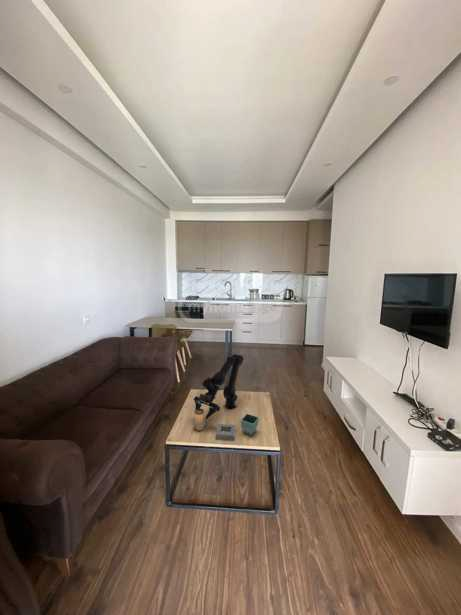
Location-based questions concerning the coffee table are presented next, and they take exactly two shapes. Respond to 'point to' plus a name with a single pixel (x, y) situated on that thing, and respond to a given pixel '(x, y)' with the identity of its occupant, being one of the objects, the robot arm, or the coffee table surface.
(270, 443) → the coffee table surface
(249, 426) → the flower pot
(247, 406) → the coffee table surface
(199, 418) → the plug
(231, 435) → the socket
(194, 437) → the coffee table surface
